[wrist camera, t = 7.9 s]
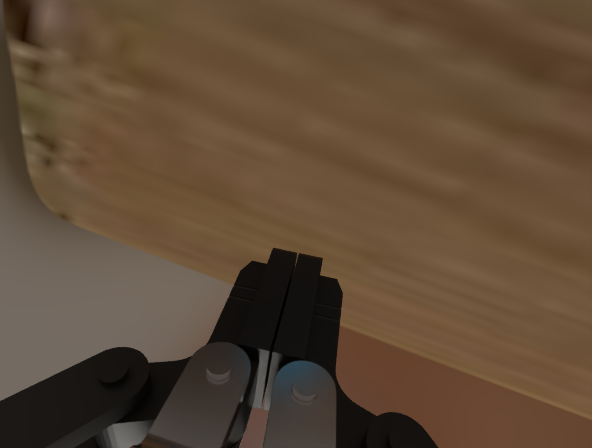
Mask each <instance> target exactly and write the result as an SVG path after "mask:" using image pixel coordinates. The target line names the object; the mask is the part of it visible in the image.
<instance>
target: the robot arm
mask: <svg viewBox="0 0 592 448" xmlns="http://www.w3.org/2000/svg"><path fill="white" fill-rule="evenodd" d="M296 258H297V253H296V252H291V251H286V250H282V249H277V248H273V250H272V252H271V255H270V258H269V260H268V263H267V264H265V263H260V262H256V261H251V262H250V263H249V264H248V265H247V266H245V267H244V268H243V269H242V270H241V271H240V273H239V275H238V277H237V279H236V282H235V284H234V287H233V288H232V290H231V293H230V295H229V298H228V300H227V302H226V304H225V306H224V308H223V311H222V313H221V315H220V317H219V319H218V322H217V324H216V326H215V329H214V331H213V333H212V335H211V337H210V339H209V341H208V343H207V344H206V345H205V346H203V347H201V348H200V349H199V350H197V351H196V352H195V353H194V354H193V356H191V357H188V358H186V359H182V360H178V361H168V362H153V363H148V360H147V358H146V357H145V356H144V354H142V353H141V352H140V351H138V350H135V349H133V348H129V347H117V348H112V349H108V350H105V351H103V352H101V353H99V354H97V355H95V356H92V357H91V358H88V359H86V360H84V361H82V362H80V363H78V364H76V365H74V366H72V367H70V368H68V369H66V370H64V371H61V372H59V373H57V374H55V375H53V376H51V377H49V378H47V379H45V380H43V381H41V382H39V383H37V384H35V385H33V386H30V387H29V388H26V389H24V390H22V391H20V392H18V393H16V394H14V395H12V396H10V397H8V398H6V399H4V400H2V401H0V448H239V447H240V444H241V441H242V438H243V434H244V432H245V430H246V427H247V423H248V420H249V417H250V413H251V409H252V407H256V408H260V409H261V407H262V403H263V399H264V395H265V391H266V397H265V403H264V409H265V410H269V414H268V420H267V425H266V432H265V437H264V443H263V448H438V447H437V445H436V444H435V443H434V441H433V440H432V439H431V437H430V436H429V435H428V433H427V432H426V431H425V430H424V428H423V427H422V426H421V425H420V424H418V423H417V422H416V421H415V420H413V419H412V418H410V417H408V416H406V415H403V414H400V413H395V412H388V413H383V414H381V415H379V416H376V415H374V414H372V413H370V412H369V411H367V410H365V409H364V408H362V407H360V406H359V405H357V404H356V403H354V402H352V400H350V399H349V398H348V397H347V396H346V394H345V393H344V392H343V391H342V389H341V388H340V386H339V384H338V381H337V378H336V372H335V371H336V370H335V369H336V357H337V347H338V336H339V327H340V317H341V307H342V297H343V292H342V290H341V288H340V285H339V283H338V280H337V279H334V278H330V277H325V276H320V272H321V266H322V260H323V258H320V257H315V256H310V255H306V254H301V253H299V255H298V259H297V263H296ZM295 264H296V266H295ZM267 383H268V384H267ZM266 387H267V390H266Z"/></svg>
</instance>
